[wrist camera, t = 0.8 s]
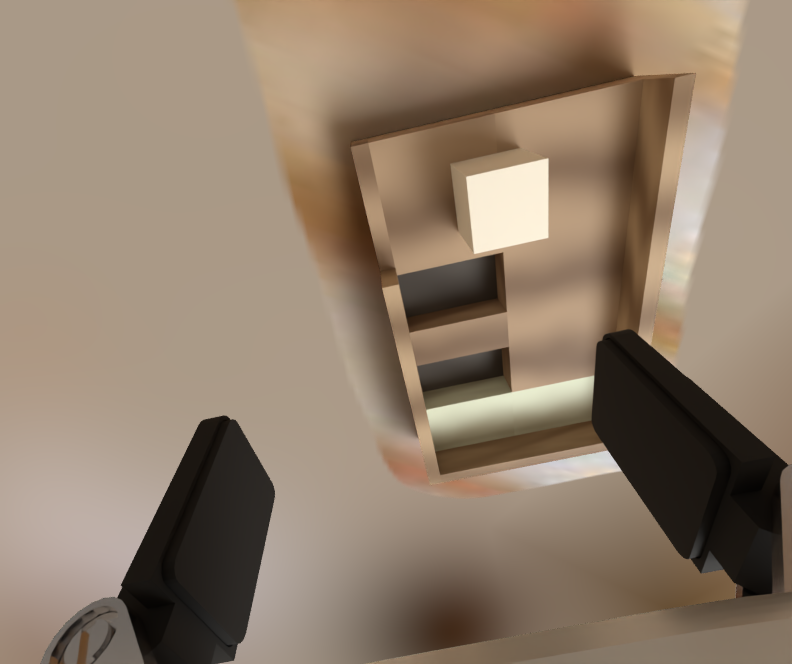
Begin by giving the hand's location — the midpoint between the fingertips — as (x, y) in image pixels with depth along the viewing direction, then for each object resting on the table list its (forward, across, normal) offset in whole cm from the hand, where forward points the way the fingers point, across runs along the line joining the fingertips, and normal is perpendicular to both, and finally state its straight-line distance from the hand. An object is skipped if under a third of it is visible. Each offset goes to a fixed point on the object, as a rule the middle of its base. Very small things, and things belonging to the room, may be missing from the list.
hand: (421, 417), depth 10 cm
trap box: (+19, -8, +8) cm, 22 cm away
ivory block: (+16, -6, -1) cm, 18 cm away
